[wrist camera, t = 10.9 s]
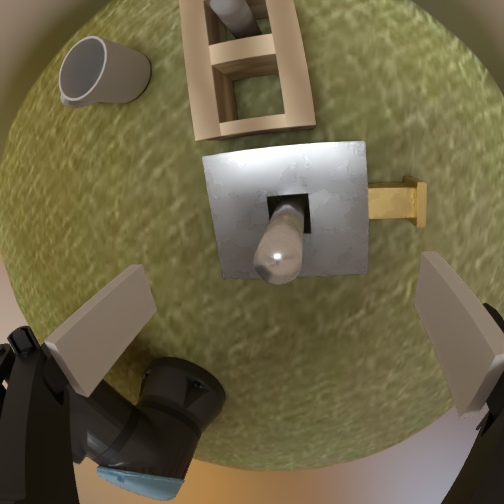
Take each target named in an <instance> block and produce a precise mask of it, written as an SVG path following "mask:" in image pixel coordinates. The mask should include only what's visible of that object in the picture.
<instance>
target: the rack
mask: <svg viewBox="0 0 504 504" xmlns="http://www.w3.org/2000/svg"><path fill="white" fill-rule="evenodd" d="M179 6H180V17H181V28H182V38H183V48H184V57H185V65H186V74H187V82H188V90H189V98H190V105H191V113H192V120H193V127H194V134H195V141H204V140H224V139H230V138H236V137H243V136H250V135H258V134H266V133H275V132H284V131H295V130H307V129H314V127H315V126H316V121H315V114H314V107H313V100H312V93H311V87H310V80H309V74H308V69H307V63H306V58H305V52H304V47H303V42H302V37H301V32H300V28H299V23H298V19H297V14H296V10H295V6H294V2H293V0H179ZM267 17H269V20H270V25H271V30H272V34H266V35H262V33H261V31H260V29H259V27H258V25H257V23H256V20H255V19H261V18H267ZM224 25H226V26H227V28H228V29H229V30H230V31H231V33H232V34H233V35H234V37H235V38H236V39H237V40H232V41H227V40H226V33H225V26H224ZM271 74H279V76H280V83H281V89H282V96H283V102H284V109H285V114H280V115H271V116H263V117H256V118H249V119H242V120H238V116H237V109H236V102H235V95H234V88H233V80H239V79H244V78H250V77H257V76H263V75H271Z"/></svg>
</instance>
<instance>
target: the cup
mask: <svg viewBox="0 0 504 504" xmlns="http://www.w3.org/2000/svg"><path fill="white" fill-rule="evenodd" d="M149 78H150V63H149V60H148V59H147V57H146V56H145V55H144V54H142V53H140V52H139V51H136V50H134V49H131V48H128V47H126V46H123V45H120V44H118V43H115V42H112V41H109V40H106V39H103V38H100V37H96V36H90V37H86V38H84V39H82V40H80V41H79V42H78V43H76V44H75V45H74V46H73V47H72V48H71V50H70V51H69V52H68V54H67V55H66V57H65V59H64V61H63V63H62V66H61V69H60V73H59V87H60V91H61V98H60V99H61V103H63V104H64V105H65V106H66V107H70V108H79V107H84V106H88V105H90V104H93V103H95V102H105V103H127V102H130V101H132V100H134V99H135V98H137V97H138V96H139V95H140V94H141V93H142V92H143V90H144V89H145V87H146V86H147V84H148V81H149Z"/></svg>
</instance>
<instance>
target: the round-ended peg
mask: <svg viewBox="0 0 504 504" xmlns="http://www.w3.org/2000/svg"><path fill="white" fill-rule="evenodd" d="M304 208H305V199H304V196H303V194H291V195H282V196H281V198H280V200H279V202H278V205H277V207H276V209H275V211H274V213H273V216H272V218H271V220H270V222H269V224H268V226H267V229H266V231H265V233H264V235H263V237H262V239H261V242H260V244H259V246H258V248H257V250H256V252H255V255H254V261H253V262H254V268H255V270H256V272H257V274H258V275H259V276H260V277H261V278H262V279H263V280H265V281H267V282H269V283H272V284H286V283H288V282H290V281H292V280H294V279H295V278H296V277H297V276H298V274H299V272H300V270H301V266H302V252H303V232H304Z"/></svg>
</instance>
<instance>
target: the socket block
mask: <svg viewBox="0 0 504 504" xmlns="http://www.w3.org/2000/svg"><path fill="white" fill-rule="evenodd" d="M202 159H203V165H204V172H205V178H206V184H207V190H208V196H209V202H210V208H211V214H212V219H213V225H214V231H215V236H216V242H217V247H218V253H219V258H220V263H221V269H222V274H223V279H258V278H261V277H260V276H259V275H258V274H257V272H256V270H255V268H254V262H253V261H254V255H255V252H256V250H257V248H258V246H259V244H260V242H261V239H262V237H263V235H264V233H265V231H266V229H267V226H268V224H269V222H270V220H271V218H272V216H273V213H274V211H275V209H276V207H277V206H276V198H275V196H278V195H291V194H305V193H308V196H309V208H310V216H304V232H303V252H302V266H301V270H300V272H299V274H298V276H297V277H309V276H329V275H348V274H365V273H368V249H369V207H368V180H367V164H366V151H365V141H346V142H324V143H309V144H296V145H285V146H275V147H266V148H257V149H249V150H242V151H235V152H228V153H221V154H215V155H210V156H204V157H202Z"/></svg>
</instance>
